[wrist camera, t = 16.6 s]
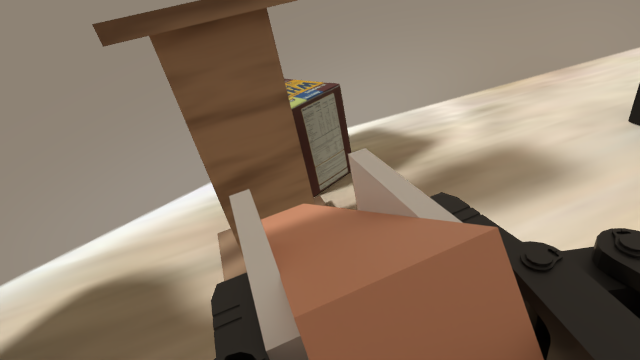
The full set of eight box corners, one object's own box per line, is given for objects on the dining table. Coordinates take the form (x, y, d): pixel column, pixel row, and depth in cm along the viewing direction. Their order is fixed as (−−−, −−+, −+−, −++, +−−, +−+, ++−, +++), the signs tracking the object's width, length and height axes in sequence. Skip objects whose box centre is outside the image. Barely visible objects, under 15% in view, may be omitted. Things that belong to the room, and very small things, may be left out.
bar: (549, 378, 6) (497, 227, 6) (356, 491, 5) (293, 318, 5) (315, 235, 30) (303, 203, 30) (272, 252, 29) (260, 219, 29)
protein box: (300, 151, 70) (281, 77, 62) (355, 169, 59) (341, 83, 51) (259, 174, 64) (234, 97, 57) (312, 199, 54) (289, 108, 46)
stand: (354, 250, 42) (302, -23, 27) (230, 301, 39) (92, 24, 24) (321, 203, 52) (270, -15, 37) (221, 241, 49) (119, 19, 34)
